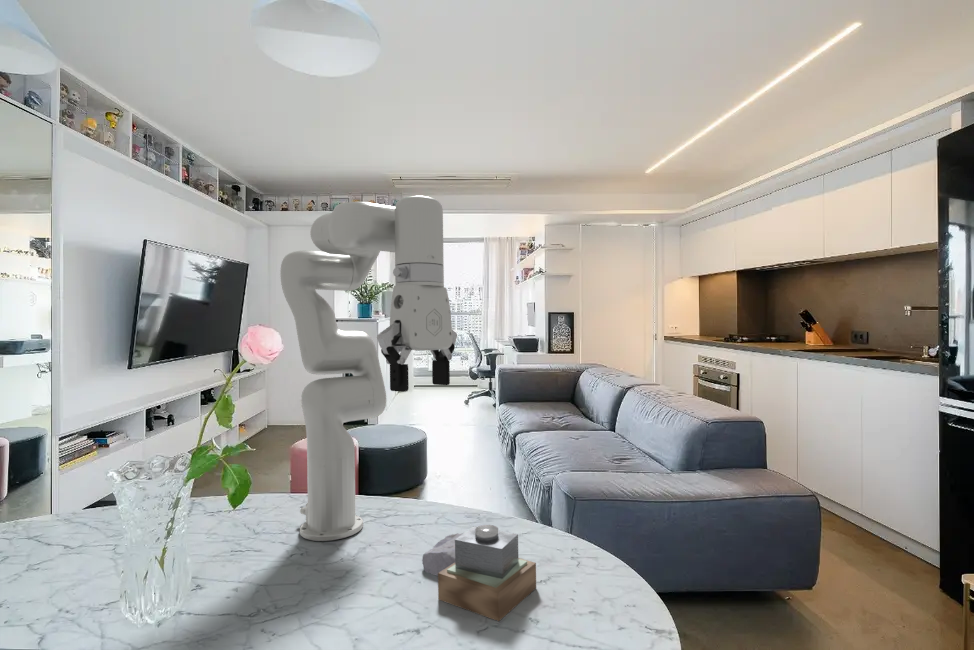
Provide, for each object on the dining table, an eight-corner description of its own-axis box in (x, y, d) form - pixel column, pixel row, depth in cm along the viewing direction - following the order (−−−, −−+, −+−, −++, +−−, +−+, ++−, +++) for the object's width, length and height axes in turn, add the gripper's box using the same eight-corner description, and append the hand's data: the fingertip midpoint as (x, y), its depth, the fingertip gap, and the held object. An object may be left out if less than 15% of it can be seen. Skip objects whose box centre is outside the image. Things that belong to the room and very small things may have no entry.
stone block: (418, 583, 87) (470, 582, 83) (413, 554, 87) (464, 552, 83) (451, 557, 98) (498, 555, 94) (447, 531, 98) (493, 528, 94)
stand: (438, 599, 78) (437, 570, 78) (479, 570, 87) (479, 544, 87) (498, 621, 72) (498, 589, 72) (536, 588, 81) (535, 560, 81)
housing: (502, 579, 75) (501, 540, 75) (455, 568, 78) (454, 531, 78) (518, 562, 80) (517, 526, 80) (473, 552, 84) (473, 518, 84)
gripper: (398, 271, 70) (399, 395, 70) (471, 280, 84) (473, 383, 84) (360, 275, 74) (362, 392, 74) (436, 283, 89) (438, 381, 88)
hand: (421, 387), depth 79 cm, fingers open, 9 cm apart
